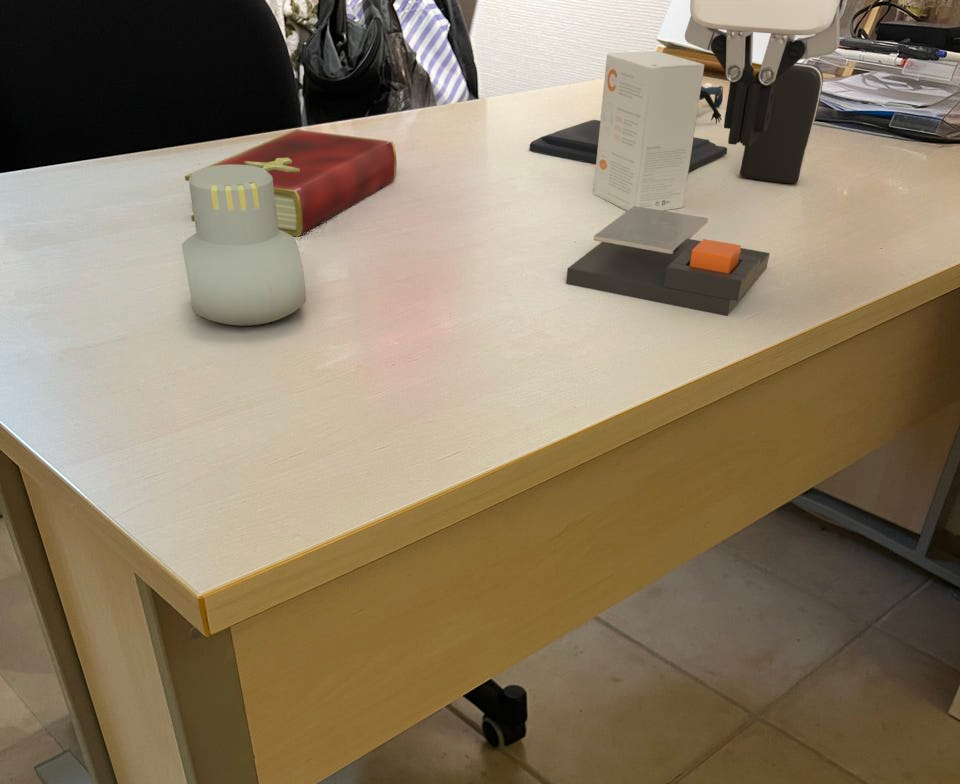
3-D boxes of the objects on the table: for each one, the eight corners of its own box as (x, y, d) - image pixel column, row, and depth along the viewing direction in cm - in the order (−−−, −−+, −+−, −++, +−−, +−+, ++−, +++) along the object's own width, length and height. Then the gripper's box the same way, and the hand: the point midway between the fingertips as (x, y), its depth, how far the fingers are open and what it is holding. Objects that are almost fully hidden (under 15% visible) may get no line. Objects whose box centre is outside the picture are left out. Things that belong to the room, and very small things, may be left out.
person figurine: (668, 113, 140) (625, 115, 126) (674, 77, 137) (631, 76, 124) (740, 122, 136) (703, 125, 122) (747, 86, 134) (711, 85, 120)
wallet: (525, 132, 113) (592, 112, 123) (524, 149, 114) (590, 128, 124) (673, 162, 104) (733, 138, 114) (670, 180, 106) (729, 155, 115)
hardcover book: (397, 181, 103) (395, 138, 100) (302, 237, 87) (297, 188, 85) (299, 168, 106) (296, 126, 103) (191, 220, 91) (184, 172, 88)
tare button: (738, 264, 77) (741, 245, 76) (727, 276, 75) (731, 256, 74) (700, 257, 78) (703, 238, 77) (688, 269, 76) (691, 249, 75)
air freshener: (312, 335, 70) (299, 192, 64) (199, 345, 68) (173, 199, 62) (292, 284, 78) (279, 152, 72) (190, 292, 76) (166, 157, 70)
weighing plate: (707, 222, 84) (708, 218, 84) (672, 254, 77) (673, 249, 77) (633, 210, 86) (634, 205, 86) (593, 240, 80) (593, 235, 79)
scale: (772, 270, 84) (780, 235, 82) (733, 318, 75) (741, 280, 73) (619, 242, 89) (623, 208, 87) (565, 285, 80) (568, 248, 78)
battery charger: (803, 178, 108) (830, 62, 100) (798, 186, 105) (825, 68, 98) (743, 170, 110) (764, 56, 102) (736, 178, 107) (757, 61, 100)
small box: (684, 209, 97) (707, 63, 89) (632, 215, 95) (651, 67, 87) (640, 188, 103) (658, 49, 94) (591, 194, 101) (604, 52, 92)
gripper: (931, -182, 59) (854, 142, 71) (698, -181, 64) (663, 121, 76) (915, -185, 54) (835, 165, 66) (664, -184, 59) (632, 141, 71)
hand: (743, 140), depth 71 cm, fingers closed
